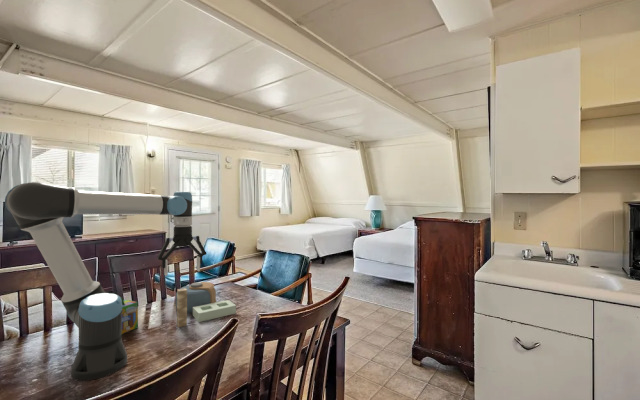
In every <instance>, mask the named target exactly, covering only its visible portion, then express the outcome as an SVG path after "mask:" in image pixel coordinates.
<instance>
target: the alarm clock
mask: <svg viewBox="0 0 640 400" xmlns="http://www.w3.org/2000/svg"><path fill="white" fill-rule="evenodd" d="M183 288H186V289H187V313H193V307H196V306H201V305H206V304H211V303H216V302H218V301H217V298H216V297H217V295H216V293H217V291H216V288H215V284H213V283H212V282H209V281H200V282H199V281H198V282H192V283H191V284H188V285H185V286H182V287H181V288H179V289H183ZM175 308H177V292H176V293H175Z"/></svg>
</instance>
